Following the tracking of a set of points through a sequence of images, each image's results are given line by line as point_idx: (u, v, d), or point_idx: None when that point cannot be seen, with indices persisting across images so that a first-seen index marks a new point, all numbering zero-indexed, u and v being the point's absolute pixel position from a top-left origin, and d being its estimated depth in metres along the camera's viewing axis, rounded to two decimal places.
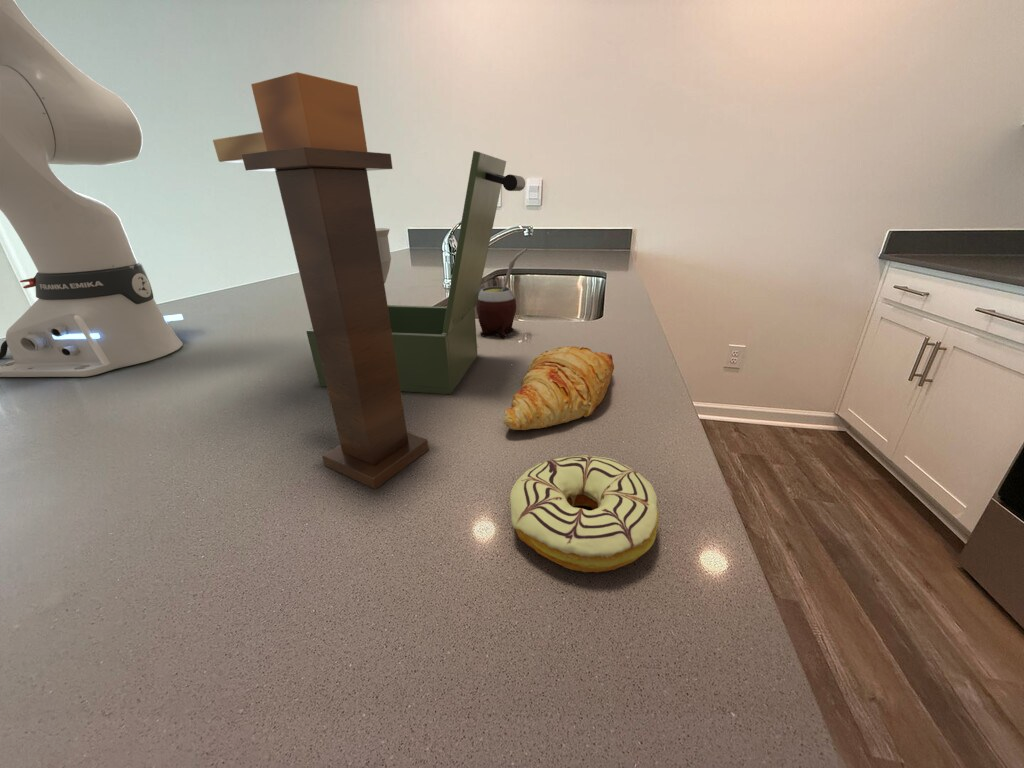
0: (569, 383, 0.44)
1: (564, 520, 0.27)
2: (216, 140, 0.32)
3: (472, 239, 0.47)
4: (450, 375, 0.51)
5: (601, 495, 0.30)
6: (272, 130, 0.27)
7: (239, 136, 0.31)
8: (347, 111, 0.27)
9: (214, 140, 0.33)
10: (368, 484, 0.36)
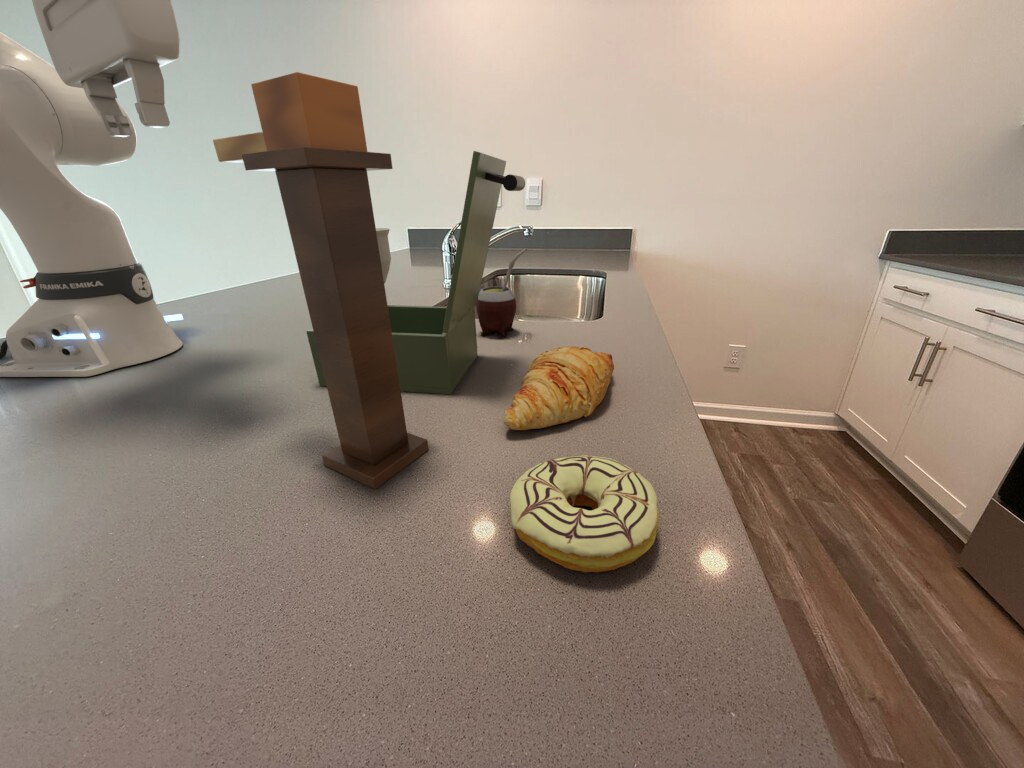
0: (569, 383, 0.44)
1: (564, 520, 0.27)
2: (216, 140, 0.32)
3: (472, 239, 0.47)
4: (450, 375, 0.51)
5: (601, 495, 0.30)
6: (272, 130, 0.27)
7: (239, 136, 0.31)
8: (347, 111, 0.27)
9: (214, 140, 0.33)
10: (368, 484, 0.36)
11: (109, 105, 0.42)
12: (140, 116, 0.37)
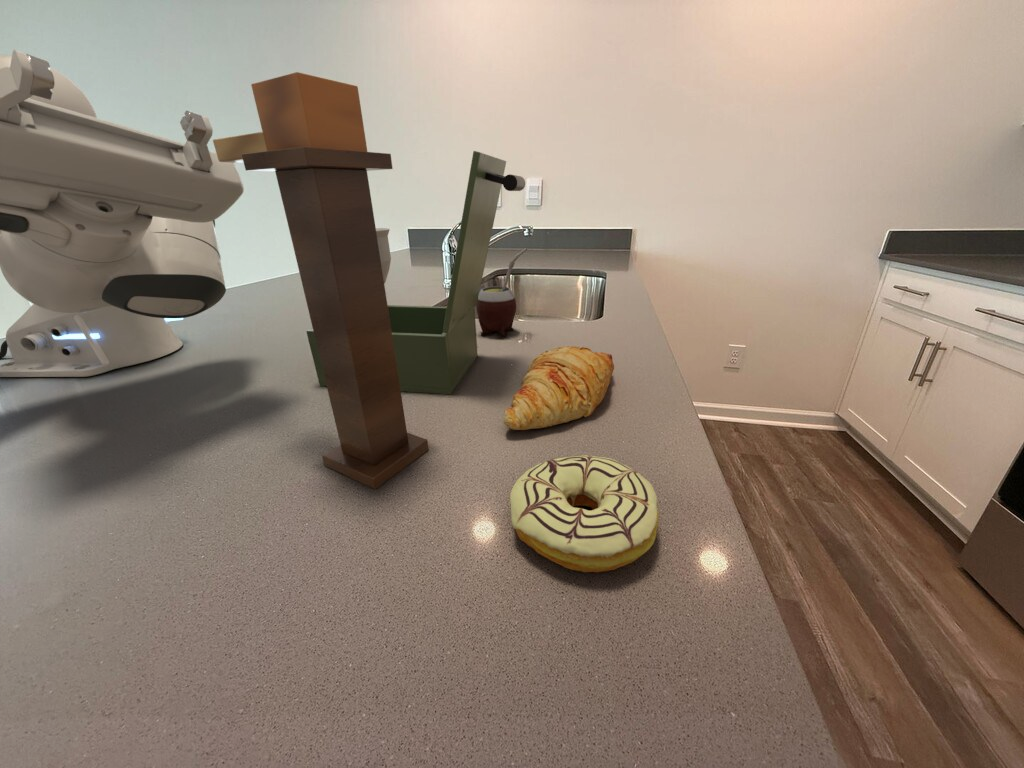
0: (569, 383, 0.44)
1: (564, 520, 0.27)
2: (216, 140, 0.32)
3: (472, 239, 0.47)
4: (450, 375, 0.51)
5: (601, 495, 0.30)
6: (272, 130, 0.27)
7: (239, 136, 0.31)
8: (347, 111, 0.27)
9: (214, 140, 0.33)
10: (368, 484, 0.36)
11: None
12: (44, 86, 0.27)
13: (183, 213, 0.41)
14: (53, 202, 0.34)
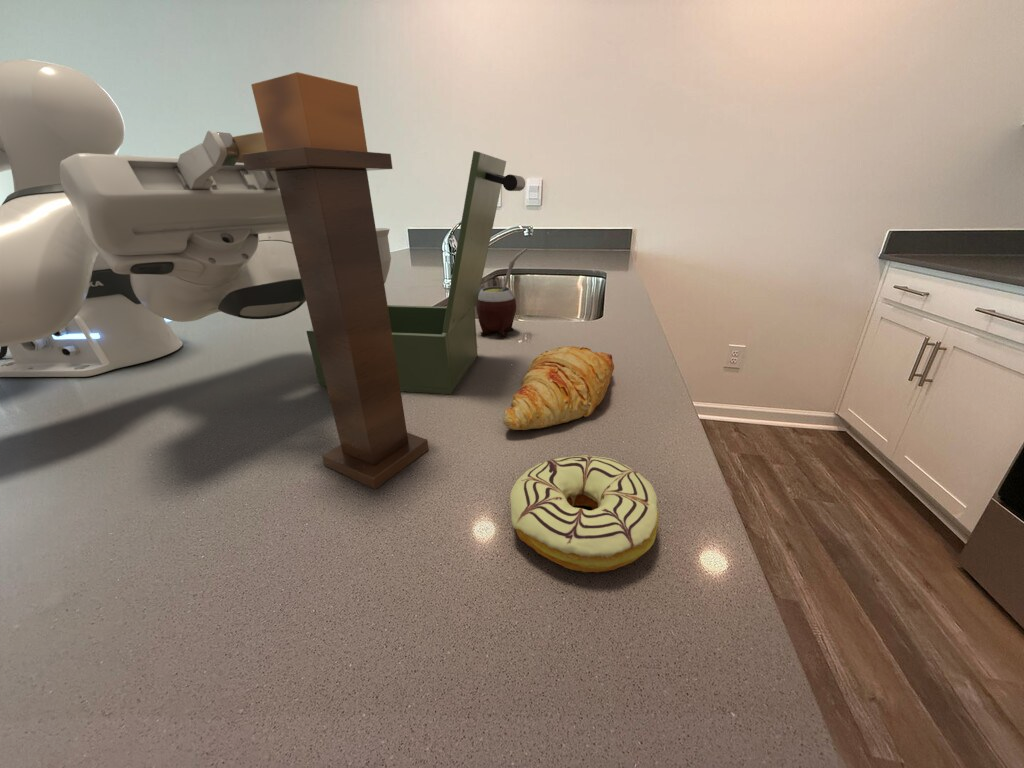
0: (568, 383, 0.44)
1: (564, 520, 0.27)
2: None
3: (472, 239, 0.47)
4: (450, 375, 0.51)
5: (601, 495, 0.30)
6: (272, 130, 0.27)
7: (239, 136, 0.31)
8: (347, 111, 0.27)
9: None
10: (368, 484, 0.36)
11: None
12: (233, 157, 0.32)
13: (283, 226, 0.44)
14: (186, 241, 0.38)
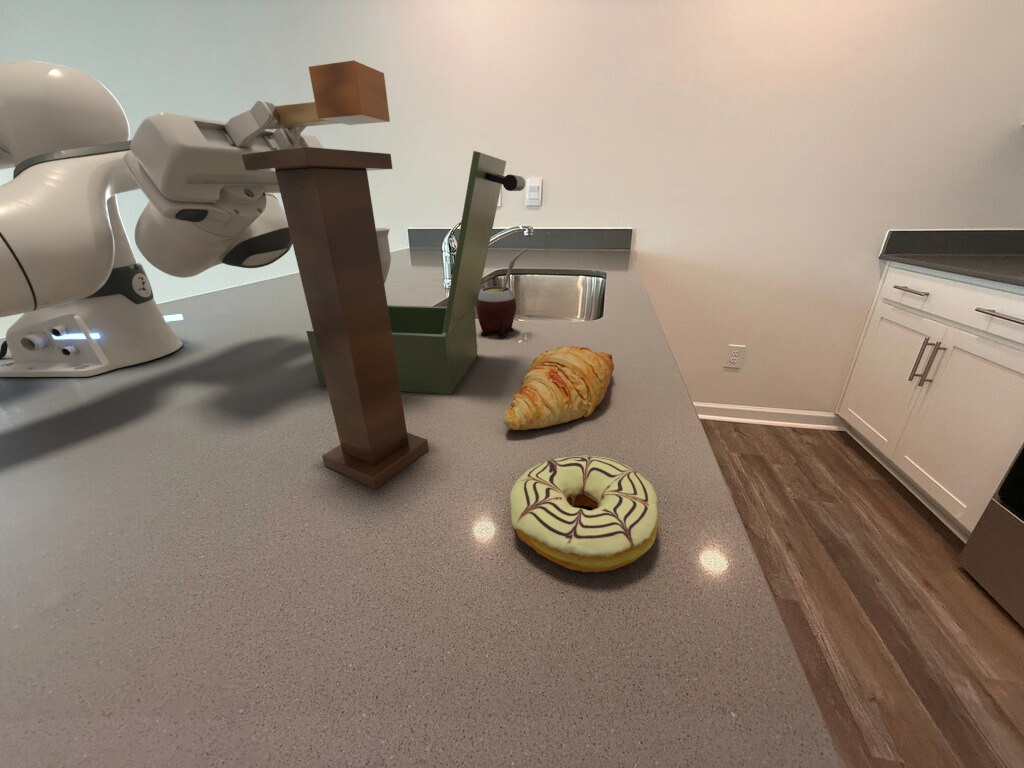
0: (568, 383, 0.44)
1: (564, 520, 0.27)
2: None
3: (472, 239, 0.47)
4: (450, 375, 0.51)
5: (601, 495, 0.30)
6: (325, 100, 0.38)
7: (282, 106, 0.40)
8: (379, 90, 0.39)
9: None
10: (368, 484, 0.36)
11: (288, 130, 0.45)
12: (275, 122, 0.41)
13: None
14: None
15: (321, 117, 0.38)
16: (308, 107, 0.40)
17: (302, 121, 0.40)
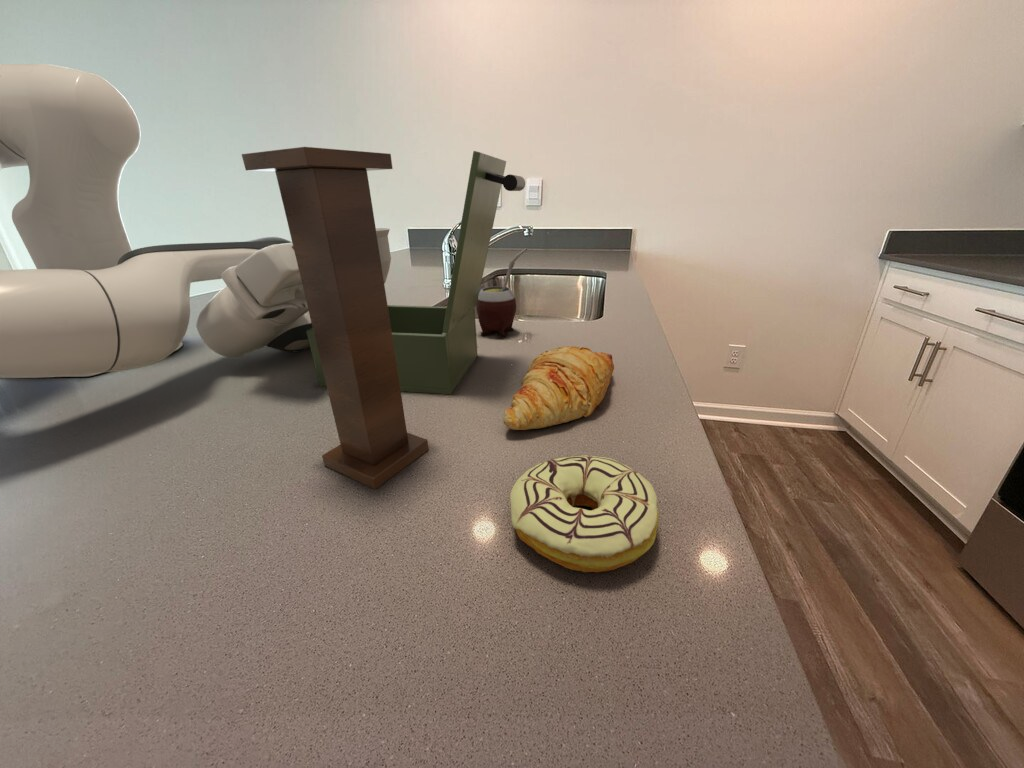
0: (568, 383, 0.44)
1: (564, 520, 0.27)
2: None
3: (472, 239, 0.47)
4: (450, 375, 0.51)
5: (601, 495, 0.30)
6: None
7: None
8: None
9: None
10: (368, 484, 0.36)
11: None
12: None
13: None
14: None
15: None
16: None
17: None
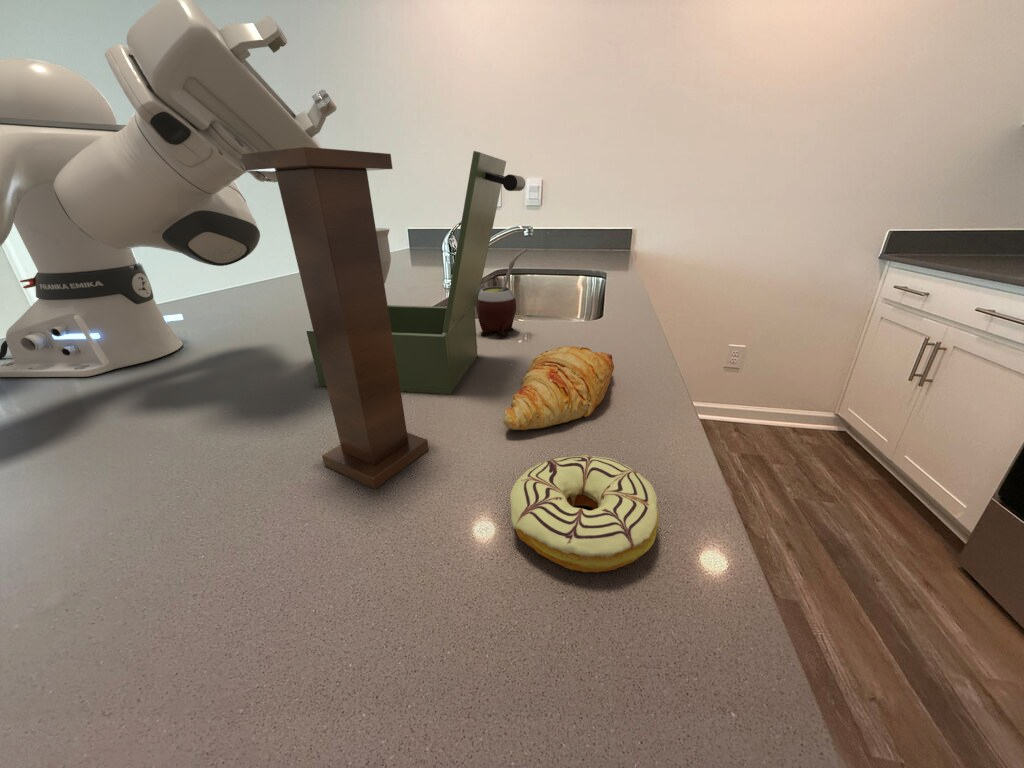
0: (568, 383, 0.44)
1: (564, 520, 0.27)
2: None
3: (472, 239, 0.47)
4: (450, 375, 0.51)
5: (601, 495, 0.30)
6: None
7: None
8: None
9: None
10: (368, 484, 0.36)
11: (313, 114, 0.48)
12: (279, 43, 0.38)
13: None
14: None
15: None
16: None
17: None
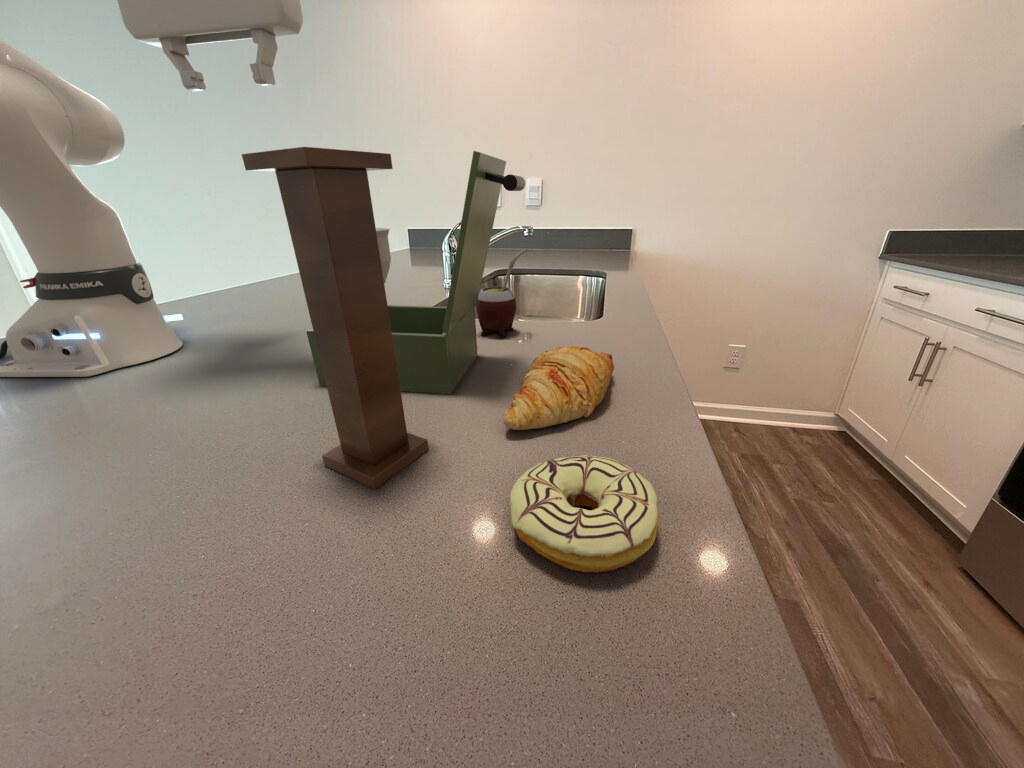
0: (568, 383, 0.44)
1: (564, 520, 0.27)
2: None
3: (472, 239, 0.47)
4: (450, 375, 0.51)
5: (601, 495, 0.30)
6: None
7: None
8: None
9: None
10: (368, 484, 0.36)
11: (184, 61, 0.48)
12: (255, 74, 0.46)
13: None
14: None
15: None
16: None
17: None
